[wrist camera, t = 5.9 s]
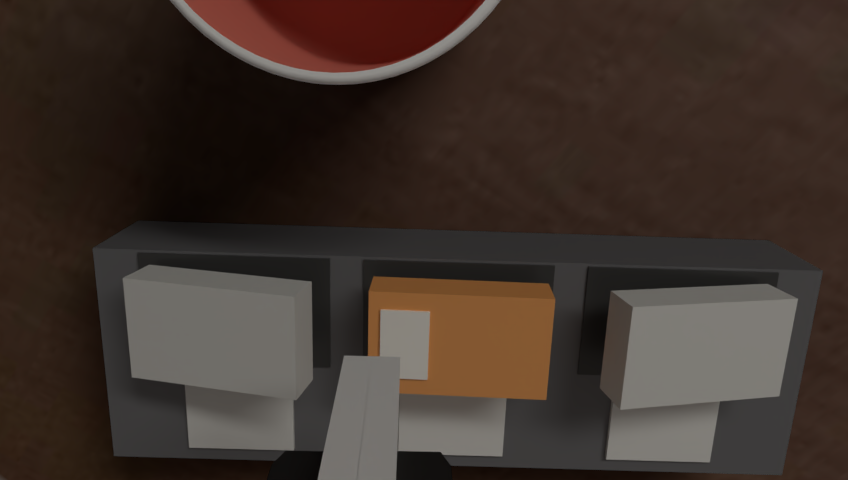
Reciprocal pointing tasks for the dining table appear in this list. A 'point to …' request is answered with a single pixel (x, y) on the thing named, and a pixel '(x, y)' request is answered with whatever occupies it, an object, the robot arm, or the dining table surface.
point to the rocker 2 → (464, 335)
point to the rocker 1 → (220, 330)
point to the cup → (336, 34)
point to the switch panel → (456, 415)
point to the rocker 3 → (696, 344)
